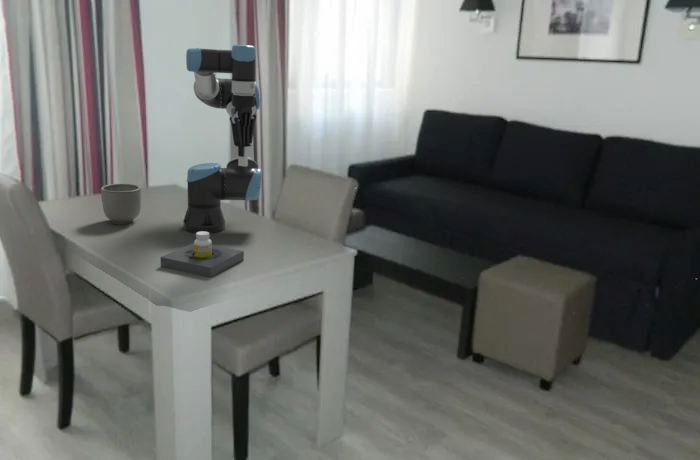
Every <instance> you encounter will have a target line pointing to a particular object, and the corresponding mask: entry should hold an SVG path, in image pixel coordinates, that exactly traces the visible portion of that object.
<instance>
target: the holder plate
mask: <svg viewBox="0 0 700 460" xmlns="http://www.w3.org/2000/svg"><path fill="white" fill-rule="evenodd" d="M244 253H245V252H244V250H241V249H235V248H231V247H225V246H220V245H217V244H212V256H210V257H195V256H194V242H192V243H190V244H188V245H185V246H183V247H180V248H178V249H176V250H174V251H171V252H169V253H167V254H164V255H162V256H160V267H161V268H168V269H171V270H176V271H181V272H184V273H188V274H189V273H190V274H193V275H198V276H204V277H207V278H208V277H209V278H212V277H214V276H216V275H218V274H219V273H221V272H224V271H225V270H227V269H229V268H231V267H233V266H235V265H237V264H239V263H240V262H243V261H244V260H245V259H244V258H245V257H244Z"/></svg>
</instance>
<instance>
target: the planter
mask: <svg viewBox="0 0 700 460" xmlns="http://www.w3.org/2000/svg"><path fill="white" fill-rule="evenodd" d="M100 194H101V195H100V197H101V203H102V209H103V213H104V215H105V217H106V218H107V219H108V220H110V221H111V223H113V224H115V223H116V224H117V225H127V224H126V223H129V224H131V223H132V221H134V220H135V219H136V218H138V216H139V215H140V212H141V207H142V206H141V204H142V187H141V185H137V184H134V183H110V184H106V185H103V186H101V187H100ZM130 222H131V223H130ZM116 224H115V225H116Z"/></svg>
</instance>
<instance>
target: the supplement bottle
mask: <svg viewBox="0 0 700 460" xmlns="http://www.w3.org/2000/svg"><path fill="white" fill-rule="evenodd" d="M195 238H196V239H195V240H194V241H193V243H194V256H195V257H210V256H212V245H213V242H212V239H210V233H209V232H206V231H200V232H197V233H195Z"/></svg>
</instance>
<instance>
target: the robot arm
mask: <svg viewBox="0 0 700 460" xmlns="http://www.w3.org/2000/svg"><path fill="white" fill-rule="evenodd" d="M185 55H186V57H185V58H186V59H185V60H186V61H185V62H186V71H187V72H192V73H194V82H193V93H194V95H195V97H196V98H197V99H198V100H199V101H200V102H201V103H203V104H205V105H207V106H208V107H211V108H214V109H225V110H226V113H227V114H228V116H230V117H229V125H230V131H229V134H230V136H229V137H230V142H229V143H230V160H229V161H228V163H227V164H226V167H222V166H221V164H220V163H217V162H207V163H200V164H196V165H192V166H191V167H189V168H188V170H187V176H186V177H187V178H186V183H187V208H186V211H185V215H184V218H183V221H182V222H183V223H182V226H183V229H184V230H185V231H186V232H190V233H195V234H196V233H197V232H200V231H206V232H209V234H211V233H217V232H221V231H223V230H225V229H226V219H225V217H224V213H223V211H222V207H221V202H222V201H246V202H247V201H256V200H259V198H260V195H261V187H262V177H263V169H262V168H260V167H259V164H258V163H257V161H255V154H254V152H255V151H254V150H255V149H254V130H255V124H256V123H255V122H256V119H257V115H256V112H257V110H259V109H260V108H261V107H260V105H261V102H260V101H261V100H260V99H261V98H260V90H259V86H258V83H257V81H256V58H257V56H256V47H255V46H254V45H249V44H248V45H246V44H245V45H243V44H234V45H232V47H231V49H213V48H200V47H196V48H195V47H193V48H188V49H186V54H185ZM217 74H231V78H218V77H217Z"/></svg>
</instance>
